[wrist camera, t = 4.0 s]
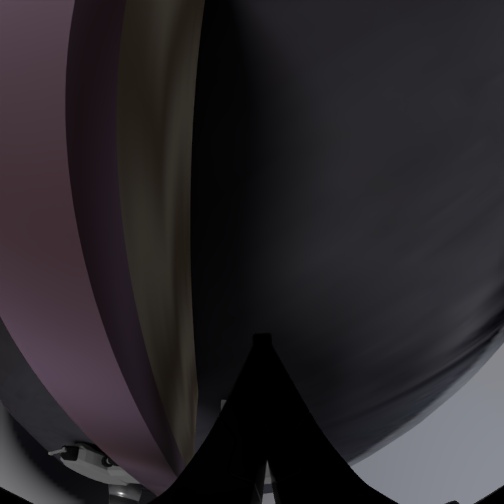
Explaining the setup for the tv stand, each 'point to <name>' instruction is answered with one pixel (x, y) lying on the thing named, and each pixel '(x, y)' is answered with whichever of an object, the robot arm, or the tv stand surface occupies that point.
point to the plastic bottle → (124, 493)
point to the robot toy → (94, 464)
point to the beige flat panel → (103, 217)
